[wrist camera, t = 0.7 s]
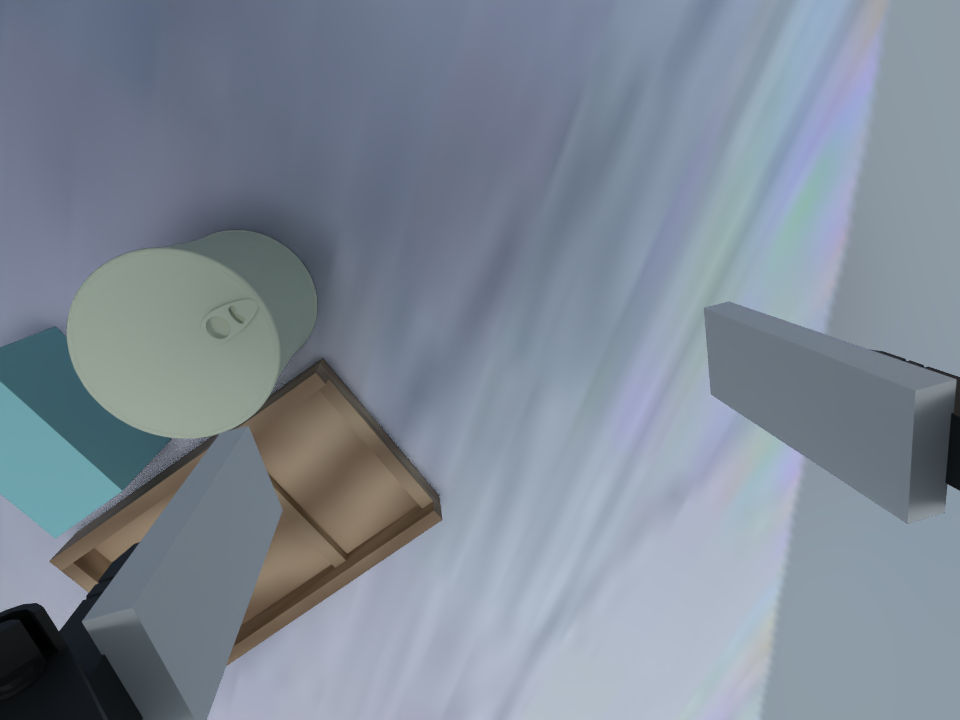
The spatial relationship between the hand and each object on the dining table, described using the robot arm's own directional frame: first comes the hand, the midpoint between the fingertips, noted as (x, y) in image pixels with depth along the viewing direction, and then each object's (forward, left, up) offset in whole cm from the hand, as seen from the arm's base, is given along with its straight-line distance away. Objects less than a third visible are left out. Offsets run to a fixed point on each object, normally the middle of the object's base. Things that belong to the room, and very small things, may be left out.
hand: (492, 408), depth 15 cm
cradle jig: (+7, -21, -23) cm, 32 cm away
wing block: (-7, -24, -23) cm, 34 cm away
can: (-6, -11, -23) cm, 26 cm away
